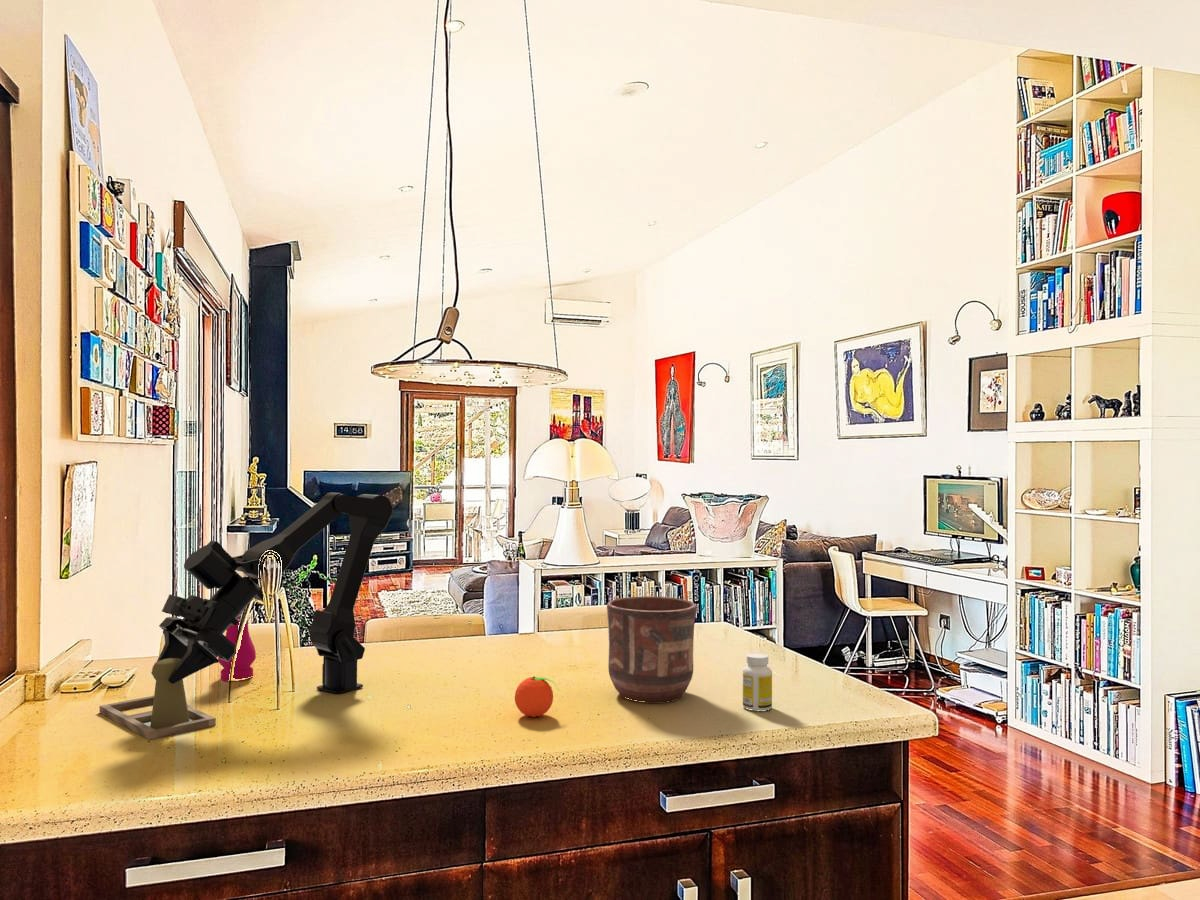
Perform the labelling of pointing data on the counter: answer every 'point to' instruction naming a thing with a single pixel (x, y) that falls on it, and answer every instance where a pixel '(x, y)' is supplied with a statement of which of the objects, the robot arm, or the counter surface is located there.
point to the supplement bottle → (757, 683)
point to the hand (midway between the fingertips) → (161, 678)
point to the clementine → (534, 696)
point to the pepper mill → (239, 654)
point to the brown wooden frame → (143, 720)
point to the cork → (168, 696)
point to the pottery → (651, 647)
